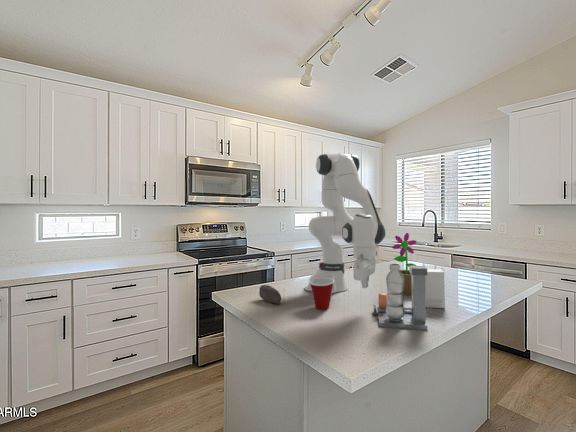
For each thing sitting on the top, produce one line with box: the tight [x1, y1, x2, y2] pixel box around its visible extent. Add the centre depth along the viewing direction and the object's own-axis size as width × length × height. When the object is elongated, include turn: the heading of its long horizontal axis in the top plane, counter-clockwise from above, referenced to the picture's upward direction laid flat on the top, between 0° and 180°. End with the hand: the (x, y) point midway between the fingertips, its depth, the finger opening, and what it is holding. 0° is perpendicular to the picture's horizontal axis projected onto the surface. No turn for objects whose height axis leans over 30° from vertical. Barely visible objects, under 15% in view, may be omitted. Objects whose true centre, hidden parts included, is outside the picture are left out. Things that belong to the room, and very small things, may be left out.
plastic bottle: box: [385, 263, 405, 319], centre depth 112 cm, size 6×7×20 cm
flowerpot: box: [391, 232, 418, 296], centre depth 154 cm, size 14×14×30 cm
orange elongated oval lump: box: [376, 292, 388, 310], centre depth 122 cm, size 4×3×7 cm
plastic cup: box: [308, 278, 334, 311], centre depth 131 cm, size 11×11×12 cm
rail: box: [373, 304, 412, 317], centre depth 121 cm, size 19×5×3 cm, turn 76°
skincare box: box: [425, 268, 446, 309], centre depth 132 cm, size 8×7×16 cm
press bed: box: [377, 265, 428, 331], centre depth 113 cm, size 17×11×21 cm, turn 76°
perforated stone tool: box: [258, 284, 282, 305], centre depth 141 cm, size 15×5×7 cm, turn 35°
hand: (365, 287), depth 123 cm, fingers closed
